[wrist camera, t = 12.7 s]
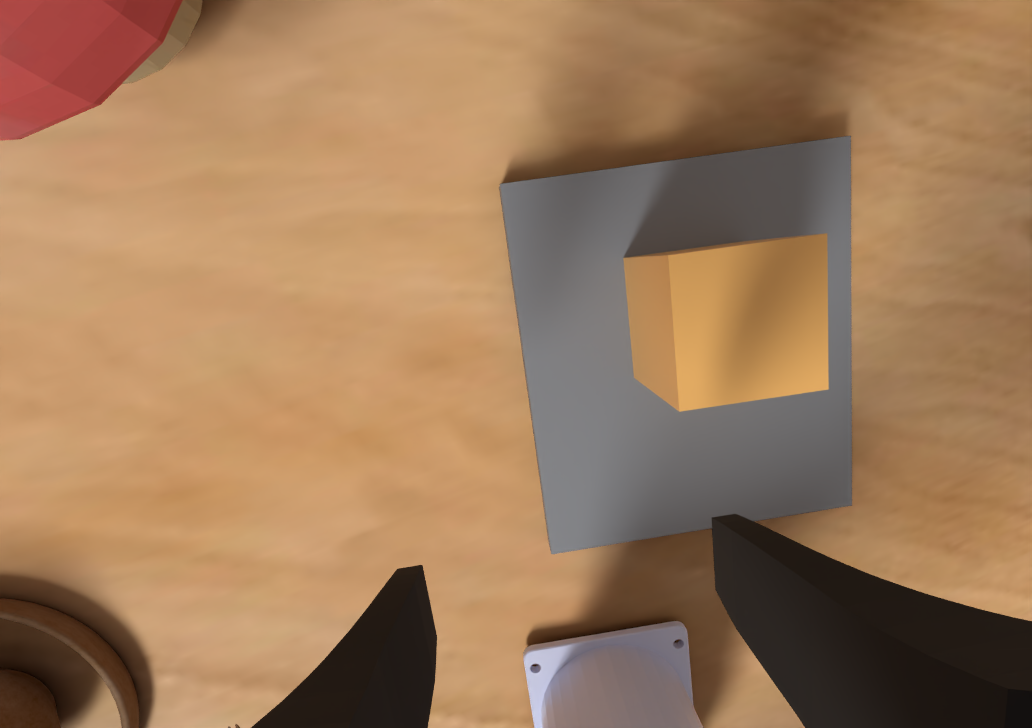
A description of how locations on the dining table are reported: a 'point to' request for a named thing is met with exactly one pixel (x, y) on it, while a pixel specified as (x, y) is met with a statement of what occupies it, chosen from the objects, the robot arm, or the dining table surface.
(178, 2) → the decorative mushroom
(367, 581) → the dining table surface
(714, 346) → the mustard yellow cube
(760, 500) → the board
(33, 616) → the place setting
